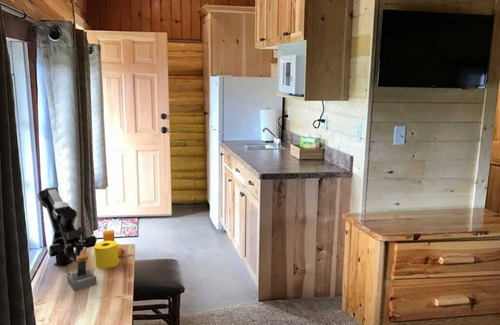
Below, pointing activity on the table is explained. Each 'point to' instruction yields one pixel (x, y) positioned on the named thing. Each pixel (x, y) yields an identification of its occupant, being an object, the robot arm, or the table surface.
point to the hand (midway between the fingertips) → (78, 263)
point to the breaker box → (81, 280)
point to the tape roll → (106, 254)
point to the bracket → (111, 239)
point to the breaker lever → (81, 264)
